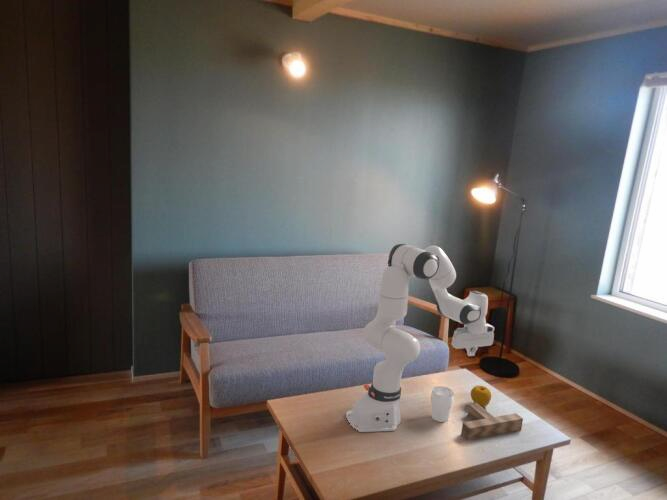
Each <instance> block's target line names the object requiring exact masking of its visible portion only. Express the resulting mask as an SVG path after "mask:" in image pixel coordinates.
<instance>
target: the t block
mask: <svg viewBox="0 0 667 500" xmlns="http://www.w3.org/2000/svg"><path fill="white" fill-rule="evenodd" d="M467 416H468V417H469V418H470V419H472V420H469V421H468V420H467V421H464V422H462V424H461V425H462V426H461V433H460V435H461V436H463V438H465V439H466V440H467V441H471V440H474V439H475V440H476V439H480V438H484V437H485V438H486V437H491V436H496V435H501V434H502V435H503V434H507V433H511V432H516V431H521V430H522V427H523V421H524V418H523V417H522V416H520V415H519V414H518V413H516V412H515V413H510V414H504V415H496V416H494V415H493V414H491V413H490V412H489V411H487V410H486V409H485V407H481V406H480V405H479V404H478V403H474V402H473V403H469V404H468V408H467Z"/></svg>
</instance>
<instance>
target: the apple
mask: <svg viewBox="0 0 667 500" xmlns="http://www.w3.org/2000/svg"><path fill="white" fill-rule="evenodd" d="M470 397H471V398H470V399H471V400H472V402H473V403H478V404H479V405H480V406H481V407H483V408H486V407H487V405H489V404H490V402H491V400H492V399H491V398H492V393H491V391H490V389H489V388H488V387H487V386H484V385H475V386H474V387H472V388H471V390H470Z"/></svg>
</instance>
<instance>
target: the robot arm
mask: <svg viewBox="0 0 667 500" xmlns="http://www.w3.org/2000/svg"><path fill="white" fill-rule="evenodd" d="M412 277H413V278H417V279H419V280H427V282H428V286H429V288H430V291H431V292H432V295H433V298H434V300H435V302H436V303H435V304H436V310H437V312H438V314H439V315H440V316H443V317H446V318H448V319H451V320H452V321H454V322H458V323H460V324H462V325H463V327H457V328H456V329H454V331H453V335H452V338H451V346H452V347H453V348H455V349H456V350H459V349H461V350H463V349H465V350H466V355H467V356H468V357H475V356H476V352H477V351H478V349H479V347H480V348H481V347H488V346H489V347H490V346H492V345H493V344H494V340H495V339H494V338H495V332H494V331H495V327H494V326H493V325H491V324H489V323H487V321H486V320H487V319H486V317H487V315H488V306H489V298H488V295H487V294H486V293H484V292H481V291H478V290H471V291H469V295H468V296H467V297H466V298H464V299H461V298H459V297H457V296H454V295H453V294H450V293H449V292H448V290H447V288H449V287H451V286H452V285H453V284H454V282H455V281H456V279H457V271H456V270H455V267H454V265H453V263H452V262H451V260H450V258H449V257H448V255H447V254H446V252H445V251H444V250H443V249H442V248H441V247H440V246H437V245H429V246H427V247H425V248H424V249H421V248H420V247H418V246H414V245H409V244H407V243H399V244H398V243H397V244H395V245H394V246H393V247H392V248H391V249H390V251H389V254H388V260H387V267H386V268H385V269H384V270H383V272H382V276H381V279H380V284H379V293H378V295H379V297H378V305H377V308H378V309H377V312H376V315H375V317H374V319H372V320H371V321H369V322H368V323H367V324H366V325H365V326H364V329H363V332H362V339H363V341H364V342H365V344H367V345H368V346H369V347H371V348H372V349H374V350H377V351H378V352H380V353H383V354H384V357H385V358H384V360H380V361H379V362H377V363H376V365H375V366H374V369H373V378H372V383H371V385H369V384H368V383H365V384H364V385H363V389H365V390H366V391H368V392H367V393H365V394H364V395H362V396H361V397H360V398H358V399H357V400H355V401H354V403H353V404H352V409H350V410H348V411H346V414H345V418H347V419H346V421H347V420H348V421H347V423H348V422H349V423H350V424H349V423H348V424H349V425H350V426H352V427H353V428H352V427H351V428H352V429H354V428H355V429H356V430H355V429H354V430H355V431H357V430H358V431H357V432H360V433H369V432H370V433H371V432H372V433H373V432H375V433H376V432H395V431H397V428H398V426H399V425H400V423H401V422H402V418H401V417H402V416H401V410H400V399H401V394H402V386H401V385H402V384H401V383H402V377H403V371H404V369H405V368H406V366H407V365H408V364H409V363H412V362H414V361H416V359H417V358H418V357H419V354H420V353H421V344H420V341H419V340H418V339H417V338H416V337H415V336H413V335H411V334H410V333H408V332H407V331H404V330H401V329H399V328H397V327H396V323H397V321H400V320H402V319H404V318H405V317H406V316H407V313H408V303H409V288H410V287H409V284H410V281H411V278H412Z"/></svg>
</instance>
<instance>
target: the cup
mask: <svg viewBox="0 0 667 500" xmlns="http://www.w3.org/2000/svg"><path fill="white" fill-rule="evenodd" d="M454 395H455V392H454V390H452V389H451V388H449V387H446V386H444V385H443V386H442V385H441V386H440V385H436V386H433V388H432V390H431V395H430V404H431V405H430V407H431V409H430V410H431V418H432V420H434V421H435V422H439V423H446V422H447V421H448V420H449V418H450V414H451V411H452V406H453V404H454Z"/></svg>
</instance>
